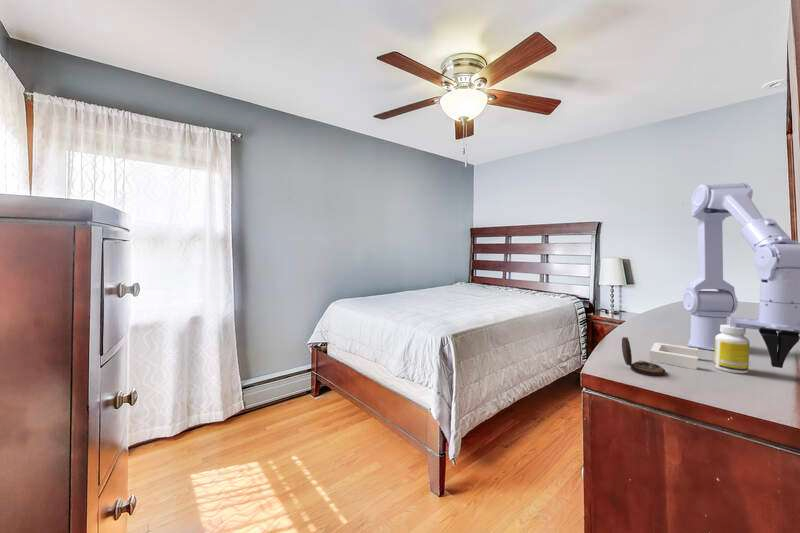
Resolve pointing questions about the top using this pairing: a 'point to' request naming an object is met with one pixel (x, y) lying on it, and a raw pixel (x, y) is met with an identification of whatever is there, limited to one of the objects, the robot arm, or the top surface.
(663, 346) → the can dock
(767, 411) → the top surface
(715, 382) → the top surface
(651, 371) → the compass
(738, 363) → the supplement bottle
